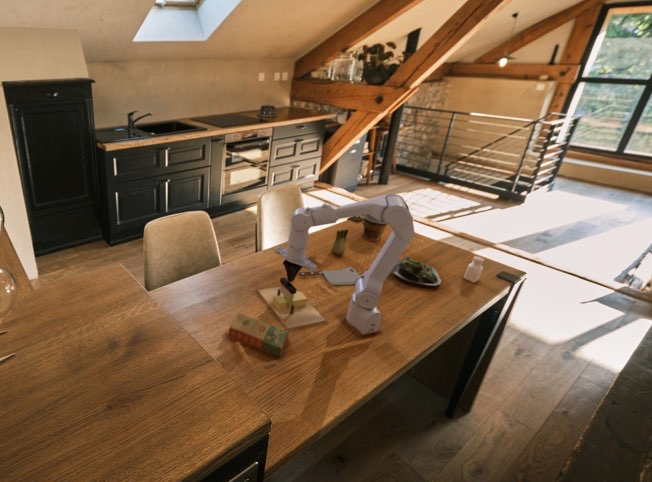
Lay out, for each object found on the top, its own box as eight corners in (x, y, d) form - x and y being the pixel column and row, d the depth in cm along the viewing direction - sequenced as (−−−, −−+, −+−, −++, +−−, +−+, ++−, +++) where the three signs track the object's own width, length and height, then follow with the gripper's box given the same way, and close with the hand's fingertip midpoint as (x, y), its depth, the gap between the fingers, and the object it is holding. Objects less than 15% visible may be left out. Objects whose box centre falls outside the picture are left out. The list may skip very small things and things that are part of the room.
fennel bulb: (342, 251, 165) (347, 226, 160) (346, 257, 161) (352, 232, 156) (328, 250, 165) (333, 226, 161) (332, 256, 161) (337, 231, 156)
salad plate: (385, 255, 163) (387, 246, 161) (433, 265, 156) (436, 256, 155) (388, 280, 146) (391, 269, 145) (442, 292, 140) (446, 282, 138)
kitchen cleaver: (306, 285, 140) (295, 268, 149) (306, 287, 141) (295, 270, 150) (368, 282, 144) (353, 266, 152) (367, 284, 144) (353, 268, 153)
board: (325, 322, 123) (328, 311, 122) (287, 330, 120) (289, 319, 118) (291, 286, 141) (293, 276, 139) (257, 292, 137) (258, 282, 135)
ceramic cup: (387, 239, 176) (392, 220, 172) (374, 245, 171) (380, 225, 167) (362, 228, 186) (366, 209, 182) (349, 232, 181) (353, 213, 177)
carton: (237, 322, 123) (238, 311, 121) (287, 341, 116) (289, 330, 114) (227, 338, 116) (229, 327, 114) (280, 359, 109) (282, 348, 107)
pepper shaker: (467, 275, 151) (475, 254, 147) (478, 280, 148) (487, 259, 144) (462, 278, 149) (470, 257, 145) (474, 283, 146) (483, 262, 142)
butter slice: (286, 309, 127) (287, 302, 126) (278, 311, 127) (279, 303, 125) (279, 302, 131) (281, 294, 130) (272, 303, 130) (273, 296, 129)
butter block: (306, 305, 130) (307, 298, 128) (289, 308, 128) (290, 301, 127) (299, 298, 133) (300, 291, 132) (282, 301, 131) (284, 294, 130)
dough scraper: (294, 303, 125) (296, 289, 123) (289, 304, 125) (291, 290, 123) (282, 290, 131) (285, 277, 129) (278, 291, 131) (280, 277, 129)
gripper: (324, 250, 119) (316, 286, 124) (285, 232, 129) (280, 266, 134) (311, 257, 115) (304, 294, 120) (272, 238, 125) (267, 273, 130)
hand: (290, 280), depth 127 cm, fingers closed
